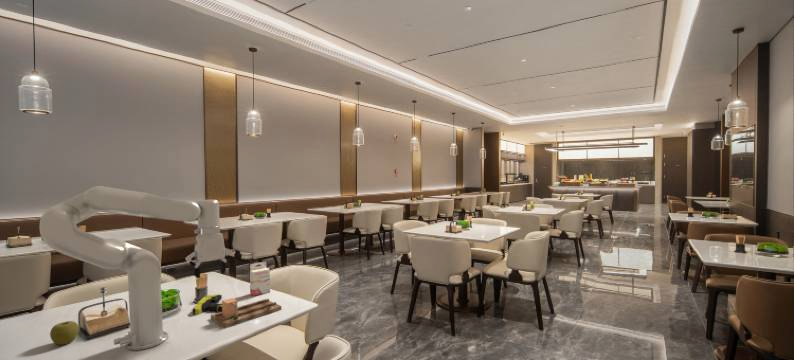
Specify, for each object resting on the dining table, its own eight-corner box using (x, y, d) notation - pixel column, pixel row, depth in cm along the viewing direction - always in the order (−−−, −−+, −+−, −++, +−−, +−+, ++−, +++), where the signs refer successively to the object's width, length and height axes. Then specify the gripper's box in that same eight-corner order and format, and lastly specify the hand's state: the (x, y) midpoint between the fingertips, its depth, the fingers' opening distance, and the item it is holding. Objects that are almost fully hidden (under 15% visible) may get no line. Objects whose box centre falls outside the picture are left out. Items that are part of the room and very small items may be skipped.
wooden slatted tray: (225, 328, 140) (224, 318, 140) (210, 318, 150) (210, 309, 150) (281, 309, 157) (281, 301, 157) (265, 302, 167) (265, 294, 167)
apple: (79, 335, 137) (78, 317, 136) (79, 343, 131) (78, 323, 130) (51, 342, 132) (50, 323, 131) (50, 350, 126) (49, 330, 125)
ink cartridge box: (253, 296, 176) (252, 266, 175) (250, 293, 180) (248, 264, 179) (270, 292, 181) (269, 262, 181) (267, 289, 185) (266, 261, 185)
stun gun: (238, 292, 175) (204, 294, 173) (226, 306, 156) (189, 309, 154) (238, 298, 175) (205, 300, 173) (227, 313, 156) (189, 316, 154)
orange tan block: (231, 320, 143) (231, 305, 143) (222, 315, 149) (222, 300, 149) (241, 317, 146) (241, 302, 145) (232, 312, 152) (231, 297, 151)
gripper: (188, 235, 134) (189, 281, 134) (235, 229, 146) (236, 271, 147) (181, 233, 139) (182, 278, 139) (227, 227, 151) (228, 268, 152)
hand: (210, 274), depth 143 cm, fingers open, 8 cm apart
